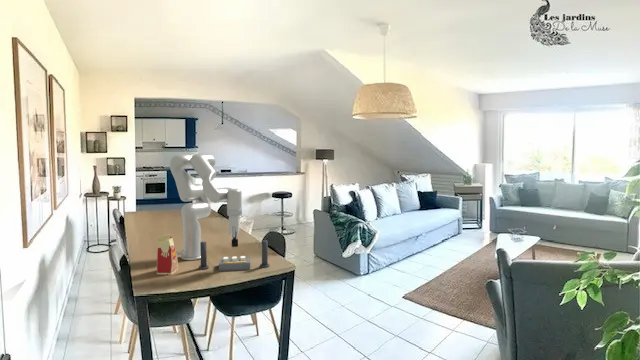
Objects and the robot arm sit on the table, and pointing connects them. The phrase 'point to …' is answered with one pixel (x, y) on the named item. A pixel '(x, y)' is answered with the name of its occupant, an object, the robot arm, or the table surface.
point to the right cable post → (264, 254)
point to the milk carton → (166, 255)
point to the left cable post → (203, 256)
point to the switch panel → (234, 263)
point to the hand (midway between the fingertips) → (234, 246)
